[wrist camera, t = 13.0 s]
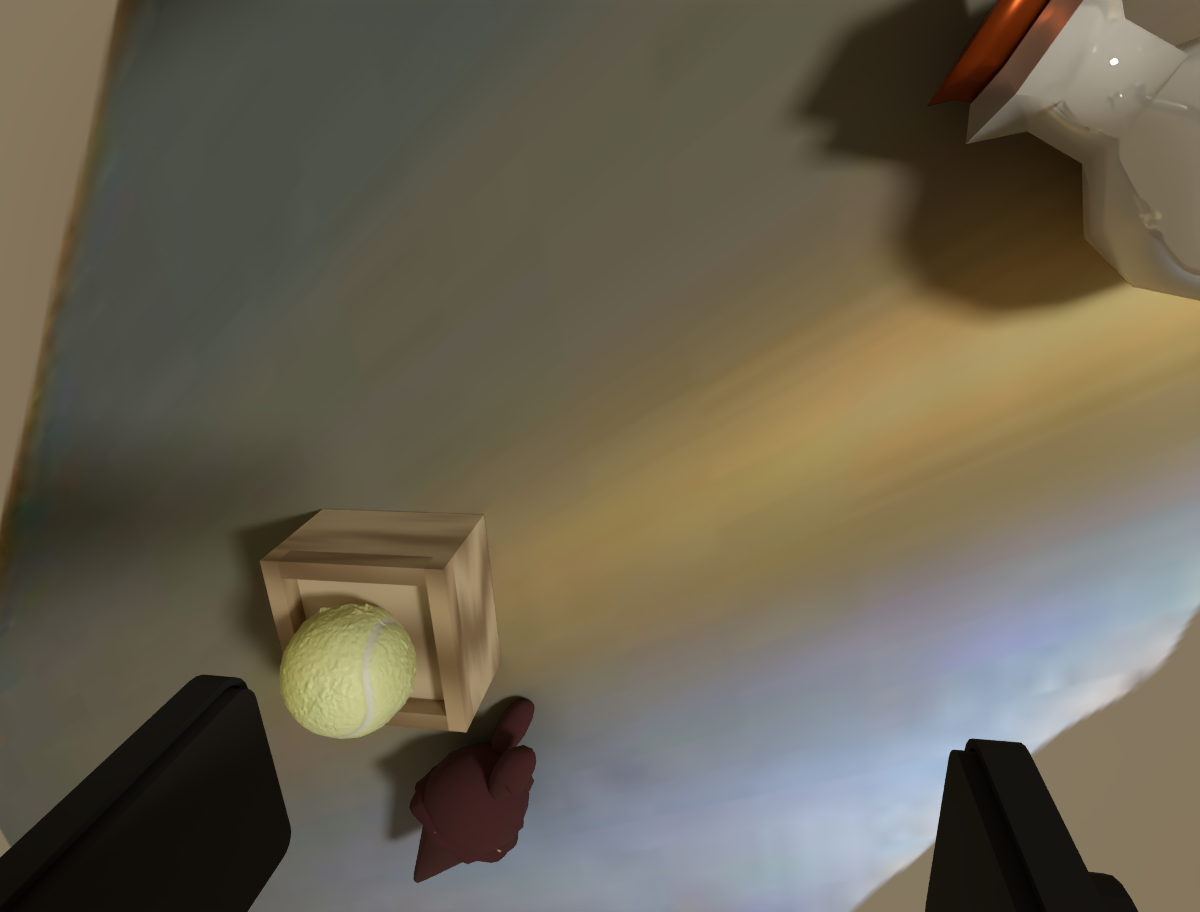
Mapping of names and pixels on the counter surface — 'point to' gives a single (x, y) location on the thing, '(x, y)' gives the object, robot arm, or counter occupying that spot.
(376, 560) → the wooden box
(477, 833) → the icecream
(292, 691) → the tennis ball
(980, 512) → the counter surface
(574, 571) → the counter surface
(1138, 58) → the potion bottle
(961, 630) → the counter surface
